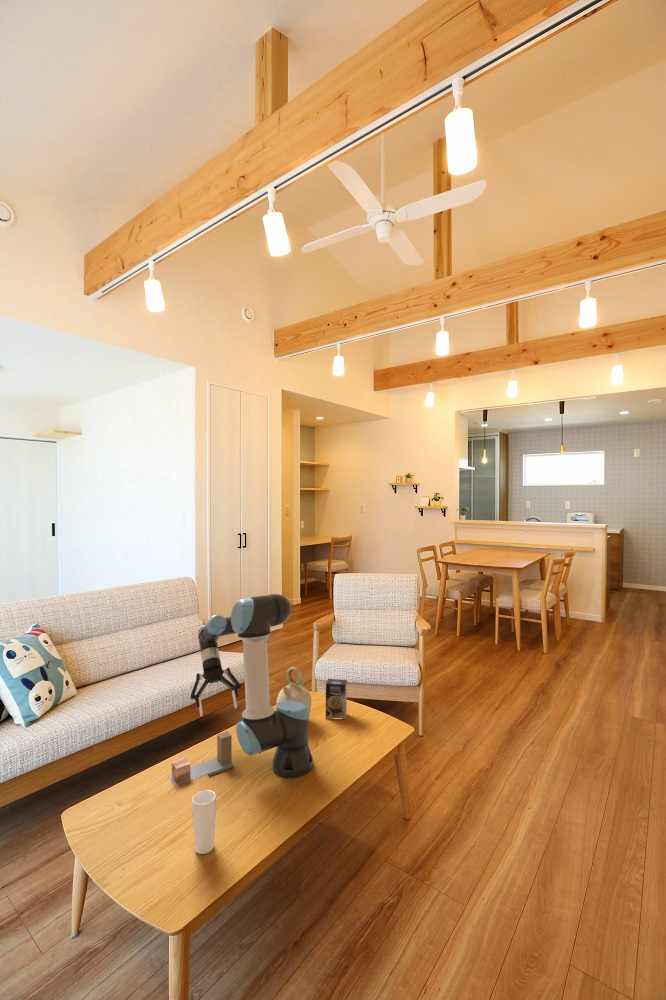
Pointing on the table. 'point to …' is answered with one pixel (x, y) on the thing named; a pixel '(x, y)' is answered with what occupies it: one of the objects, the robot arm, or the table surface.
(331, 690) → the coffee box
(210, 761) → the strip
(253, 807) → the table surface
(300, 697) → the jug
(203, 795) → the drinking glass
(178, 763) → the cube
